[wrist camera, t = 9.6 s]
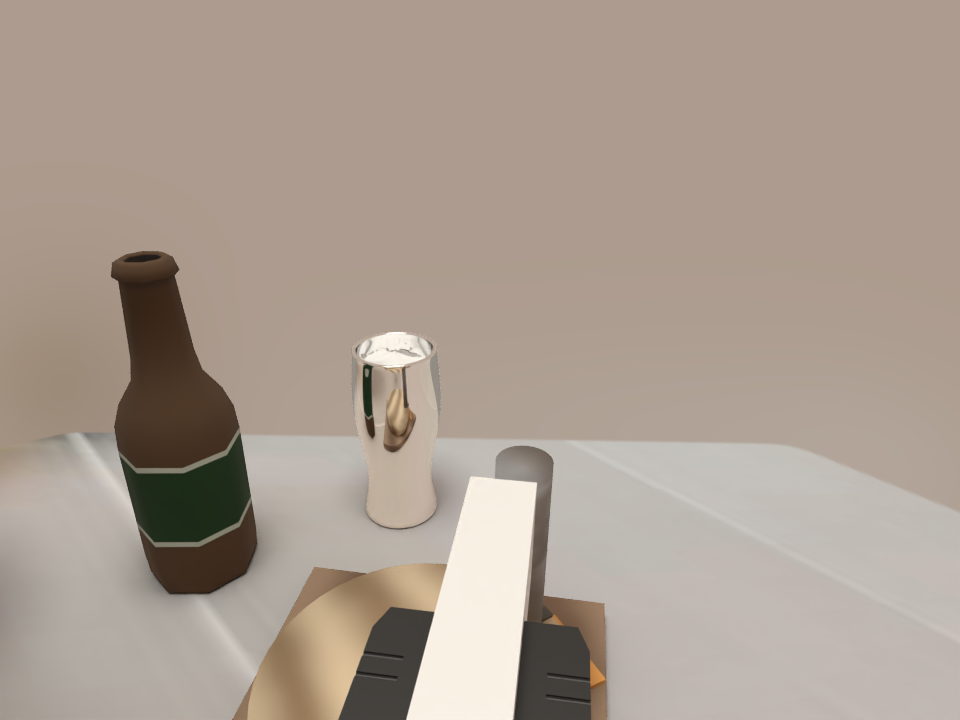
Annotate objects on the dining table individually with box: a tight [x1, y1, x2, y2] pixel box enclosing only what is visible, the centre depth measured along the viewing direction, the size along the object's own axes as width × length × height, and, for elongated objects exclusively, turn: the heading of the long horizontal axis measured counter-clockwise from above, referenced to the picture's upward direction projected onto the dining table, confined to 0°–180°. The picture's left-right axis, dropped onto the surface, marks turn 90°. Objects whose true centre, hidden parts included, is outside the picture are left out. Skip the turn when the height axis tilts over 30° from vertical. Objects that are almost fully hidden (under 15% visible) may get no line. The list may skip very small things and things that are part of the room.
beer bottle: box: [111, 251, 257, 593], centre depth 45 cm, size 8×8×24 cm
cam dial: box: [247, 446, 559, 720], centre depth 34 cm, size 18×18×15 cm
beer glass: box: [351, 332, 441, 528], centre depth 53 cm, size 7×7×15 cm
